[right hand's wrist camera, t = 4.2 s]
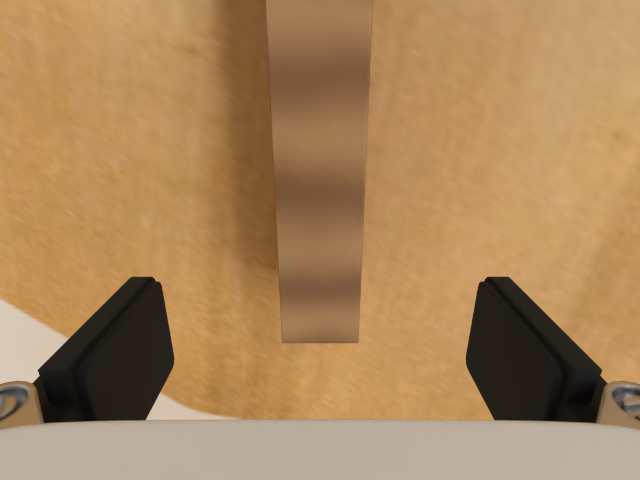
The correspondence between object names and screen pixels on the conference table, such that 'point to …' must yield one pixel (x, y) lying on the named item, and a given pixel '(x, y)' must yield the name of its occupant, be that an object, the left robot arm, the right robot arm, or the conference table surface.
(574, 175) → the conference table surface
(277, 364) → the conference table surface
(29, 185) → the conference table surface
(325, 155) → the beam
